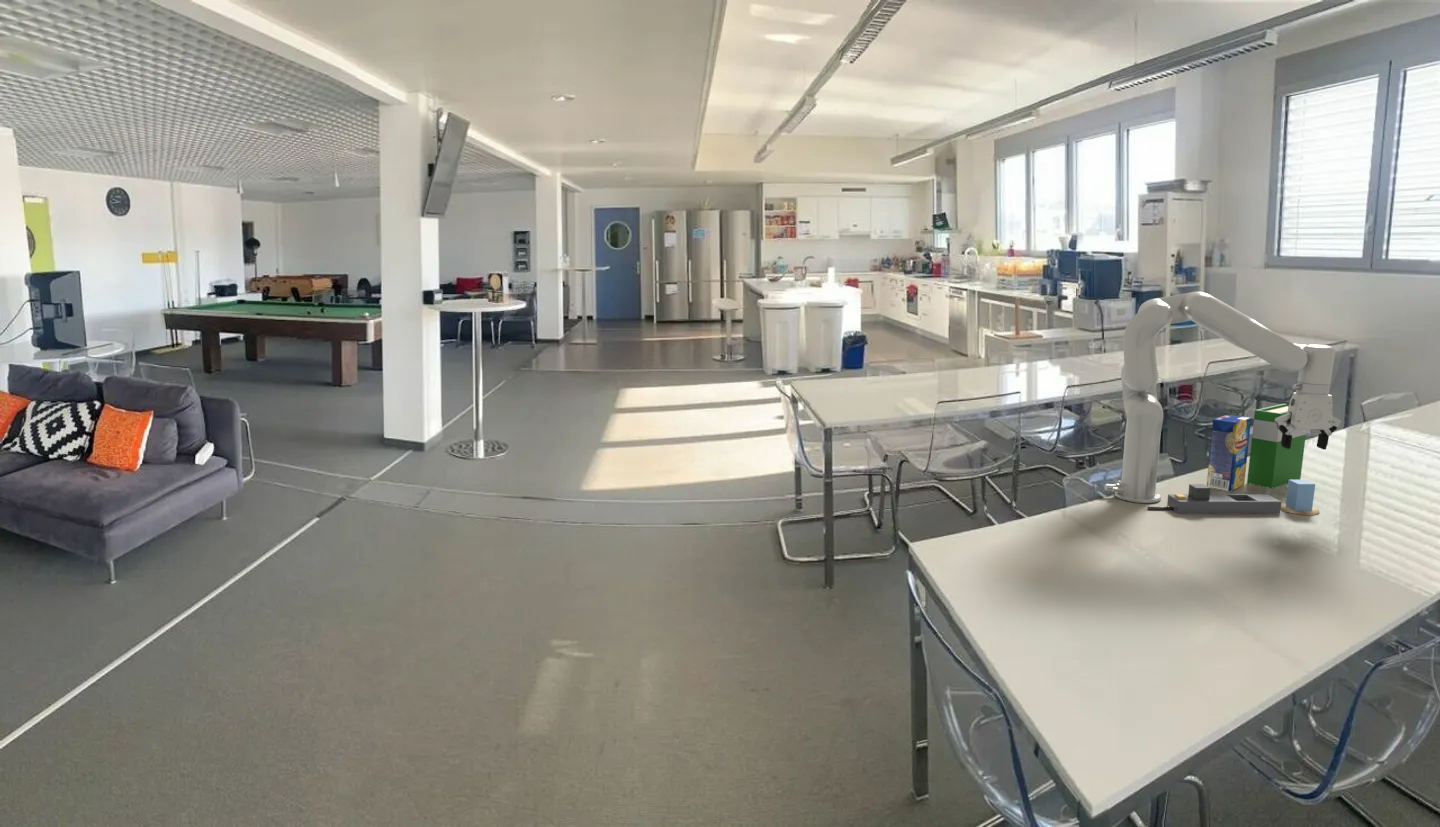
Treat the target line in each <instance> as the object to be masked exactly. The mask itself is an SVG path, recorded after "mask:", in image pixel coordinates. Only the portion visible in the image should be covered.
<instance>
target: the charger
mask: <svg viewBox="0 0 1440 827" xmlns="http://www.w3.org/2000/svg"><path fill="white" fill-rule="evenodd" d="M1315 489H1316V483H1314V482H1312V481H1309V480H1307V479H1300V480H1288V483H1287V490H1286V491H1287V492H1286V498H1285V503H1286V505H1285V506H1287V507H1288V508H1290V509H1292V510H1294V511H1312V507H1314V506H1313V505H1314V504H1313V503H1314V498H1315Z"/></svg>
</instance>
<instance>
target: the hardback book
mask: <svg viewBox="0 0 1440 827" xmlns="http://www.w3.org/2000/svg"><path fill="white" fill-rule="evenodd" d="M1288 407H1289V405H1288V403H1280V404H1276V405H1271V406H1268V407H1263V408H1259V409H1258V408H1257V409H1255V410H1254V418H1253V423H1252V424H1253V426H1252V433H1251V434H1252V436H1251V441H1250V442H1251V443H1250V452H1249V462H1248V472H1247V480H1246V483H1247V484H1249V483H1251V484H1250V485H1254V484H1255V485H1254V486H1258V485H1260V486H1259V487H1263V486H1264V487H1265V488H1267V487H1268V489H1274V488H1277V487H1281V486H1284V485H1286V484H1287V485H1288V480H1302V478H1301V477H1302V469H1303V461H1304V453H1305V444H1306V438H1307V437H1306V436H1307V430H1300V429H1295V430H1294V431H1293V432H1292V433H1291V434H1290V435H1292V441H1291V448H1290V449H1287V448H1284V447H1282V446H1281V445H1282V444H1281V440H1282V433H1281V431H1280V430H1279V429H1278V428H1277V425H1276V422H1275V418H1277V417H1280V416H1282V415H1284V414H1287V411H1288ZM1283 425H1284V426H1286V420H1285V421H1283Z"/></svg>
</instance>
